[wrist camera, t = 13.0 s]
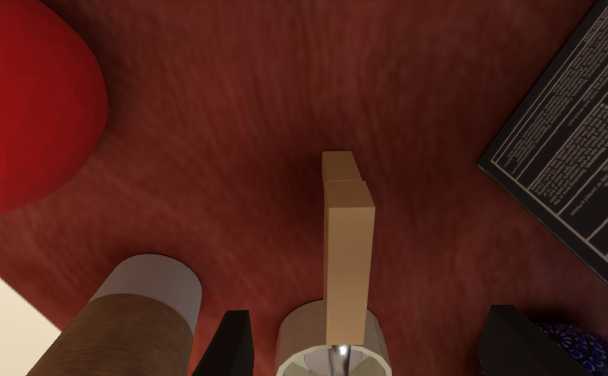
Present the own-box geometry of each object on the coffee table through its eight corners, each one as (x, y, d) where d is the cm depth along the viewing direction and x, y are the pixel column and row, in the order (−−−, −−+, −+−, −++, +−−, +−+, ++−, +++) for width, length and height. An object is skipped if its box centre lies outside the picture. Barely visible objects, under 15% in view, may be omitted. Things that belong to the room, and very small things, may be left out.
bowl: (396, 308, 25) (410, 354, 22) (361, 373, 29) (369, 421, 25) (291, 290, 24) (289, 335, 21) (268, 360, 28) (265, 407, 24)
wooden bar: (357, 359, 26) (373, 451, 21) (304, 360, 26) (305, 453, 21) (374, 149, 19) (404, 206, 14) (299, 151, 19) (299, 208, 14)
